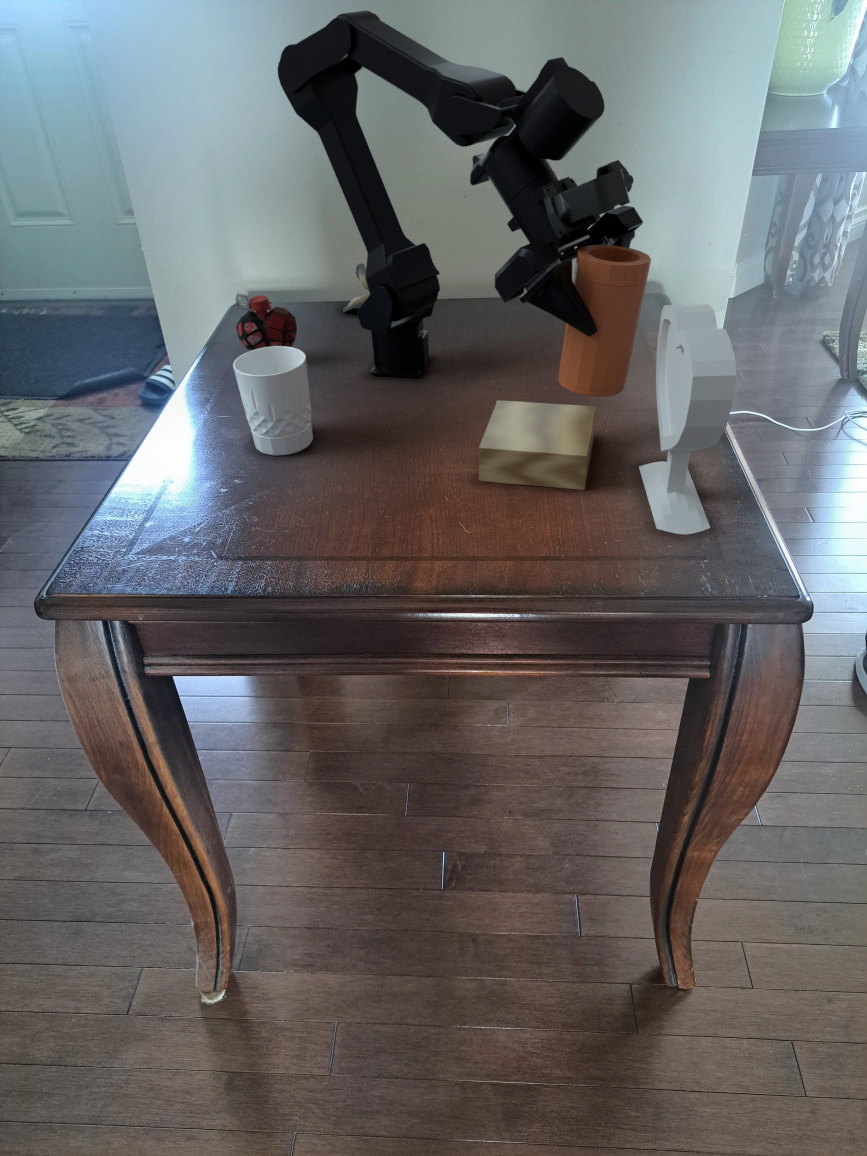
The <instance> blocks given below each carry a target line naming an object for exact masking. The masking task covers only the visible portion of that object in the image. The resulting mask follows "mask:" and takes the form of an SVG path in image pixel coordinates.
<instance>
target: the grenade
mask: <svg viewBox="0 0 867 1156" xmlns="http://www.w3.org/2000/svg"><path fill="white" fill-rule="evenodd" d="M241 298H245V300H246V302H247V303H243V302H242V301H241ZM235 305H236V307H237V309H240V310H243V311H245V312H246V313H244V315H242V316H241V317H240V318H239V320H238V321H237V324H236V326H235V329H236V332H237V337H238V339H239V341H240V343H241V344H242V346H243V347H245V348H246V350H248V352H249V351H252V350H255V349H259V348H264V347H271V346H286V347H292V348H293V345H294V343H295V341H296V336H297V332H298V331H297V330H298V328H297V320H296V317H295V316H294V315H293V314H292V313H291V312H290V311H289V310H288V309H287V308H285V307H281V306H275V307H274V308H273V307H272V305H273V299H269V298H268V296H267V295H263V294H262V295H256V296H253V297H251V294H250V292H249V291H247V290H239V289H238V290H237V293H236V296H235Z"/></svg>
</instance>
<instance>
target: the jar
mask: <svg viewBox="0 0 867 1156" xmlns="http://www.w3.org/2000/svg"><path fill="white" fill-rule="evenodd" d="M575 259H576V260H575V266H574V273H573V277H572V281H573V283H574V285H575V287H576V289H577V291H578V293H579V294H580V296H581V298H582V300H583V302H584V304H585V305H586V307H587V309H588V311H589V313H590V315H591V316H592V319H593V321H594V323H595V325H596V328H597V332H596V333H595V334H593V335H592V336H590V337H589V336H587V335H585V334H583V333H582V332H580V331H579V330H577V329H575V328H574V327H572V326H570V325H569V324H567V323H565V331H564V336H563V343H562V350H561V356H560V362H559V369H558V377H557V378H558V379H557V380H558V383H559V384H560V385H561V387H563V388H564V389H566V390H567V391H569V392H572V393H574V394H577V395H582V396H587V397H593V398H595V397H596V398H602V397H603V398H604V397H605V398H606V397H612V396H616V395H619V394H621V393H622V392H623V391H624V389H625V385H626V383H627V377H628V373H629V368H630V363H631V358H632V354H633V348H634V344H635V339H636V336H637V335H636V333H637V328H638V325H639V320H640V315H641V310H642V306H643V301H644V297H645V296H644V295H645V291H646V287H647V281H648V276H649V272H650V267H651V263H652V258H651V256H650V255H649V254H647V253H645V252H643V251H641V250H638V249H634V248H630V247H629V248H627V247H621V246H615V245H590V246H586V247H582V248H580V249H579V250H578V253H577V258H575Z"/></svg>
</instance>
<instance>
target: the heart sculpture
mask: <svg viewBox="0 0 867 1156" xmlns="http://www.w3.org/2000/svg"><path fill="white" fill-rule="evenodd" d="M657 333H658V335H657V345H656V356H655V360H656V361H655V364H656V365H655V375H656V376H655V389H656V390H655V391H656V392H655V394H656V407H657V408H656V409H657V410H656V411H657V420H658V421H657V422H658V431H659V445H660V452H667V458H666V461H660V460H659V461H654V462H650V463H646V464H643V465H639V466H638V469H639V472H640V476H641V479H642V483H643V486H644V491H645V493H646V496H647V500H648V503H649V507H650V510H651V513H652V518H653V521H654V524H655V528H656V529H657V530H660V531H664V532H667V533H671V534H675V535H676V534H677V535H685V536H686V535H693V534H697V533H701V532H704V531H706V530H709V529H711V526H710V523H709V520H708V517H707V514H706V512H705V510H704V507H703V504H702V502H701V499H700V497H699V494H698V491H697V489H696V486H695V483H694V481H693V478H692V476H691V473H690V470H689V463H690V457H691V452H694V451H696V452H697V451H700V450H705V449H711V448H712V447H714V446H715V445H717V444H718V443H719V442H720V440H721V438H722V436H723V433H724V432H725V430H726V428H727V427H728V423H729V418H730V415H731V410H732V406H733V403H734V399H735V398H734V395H735V390H736V389H735V388H736V382H737V363H736V357H735V353H734V348H733V345H732V342H731V339H730V338H731V337H730V336H729V333H728V332H727V330H726V328H718V323H717V317H716V312H715V310H714V309H713V307H712V305H709V304H707V303H694V304H693V303H690V304H665V305H664V306H663V308H662V309H661V312H660V320H659V326H658V332H657Z"/></svg>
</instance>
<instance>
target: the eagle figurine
mask: <svg viewBox="0 0 867 1156" xmlns="http://www.w3.org/2000/svg"><path fill="white" fill-rule="evenodd" d="M354 273H355V276H356V278H357V279H358V281H359V283H360V284H361V285H362V287H363V288H364V289H365V290H367V291H368V293H367V294H363V295H360V296H357V297H354V298H352V300H351V301H349V302H348V304H347V305H346V306H344V307H343V308H342V311H343V312H344V313H345V312H349V311H351V310H353V309H357V310H358V309H359V308H360V307H361V306H362V304H363V303H364V302H365V300H366V299H367V298H368V296H369V295H370V292H369V289H368V285H367V282H366V265H365V263H362V262H361V263H360V262H359V263H357V265H356V266H355V272H354Z"/></svg>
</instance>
